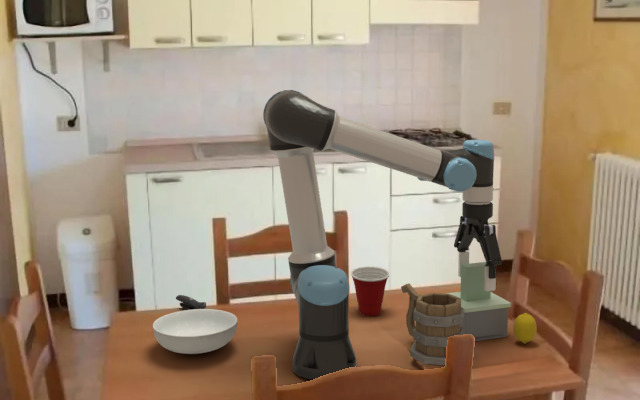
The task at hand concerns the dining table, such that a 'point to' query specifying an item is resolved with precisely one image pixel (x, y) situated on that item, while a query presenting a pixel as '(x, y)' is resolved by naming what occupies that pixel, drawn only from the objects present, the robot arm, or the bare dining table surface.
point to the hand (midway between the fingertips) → (476, 283)
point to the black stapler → (190, 303)
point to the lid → (477, 290)
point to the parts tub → (486, 323)
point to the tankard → (432, 324)
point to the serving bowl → (195, 330)
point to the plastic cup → (369, 288)
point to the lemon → (525, 328)
